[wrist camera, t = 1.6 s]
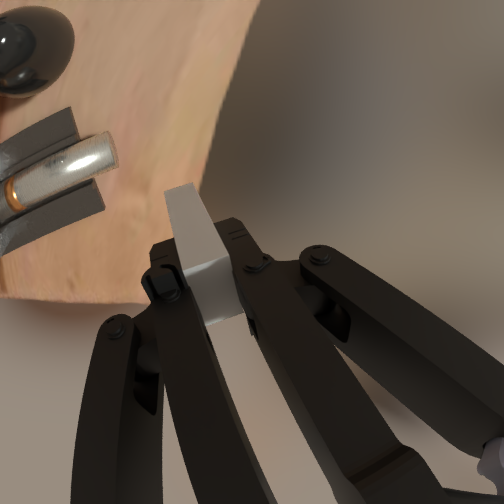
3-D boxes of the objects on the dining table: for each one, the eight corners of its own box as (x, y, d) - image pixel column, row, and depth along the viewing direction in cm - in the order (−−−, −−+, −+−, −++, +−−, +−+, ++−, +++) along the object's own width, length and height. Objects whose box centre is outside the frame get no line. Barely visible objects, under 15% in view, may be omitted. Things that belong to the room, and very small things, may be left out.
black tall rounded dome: (6, 104, 21) (-63, 131, 10) (10, 27, 16) (-55, 12, 4) (79, 88, 25) (35, 97, 13) (85, 8, 19) (51, -33, 7)
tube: (5, 218, 27) (-10, 229, 23) (-6, 188, 25) (-22, 195, 21) (120, 165, 31) (115, 169, 27) (110, 130, 29) (104, 130, 25)
